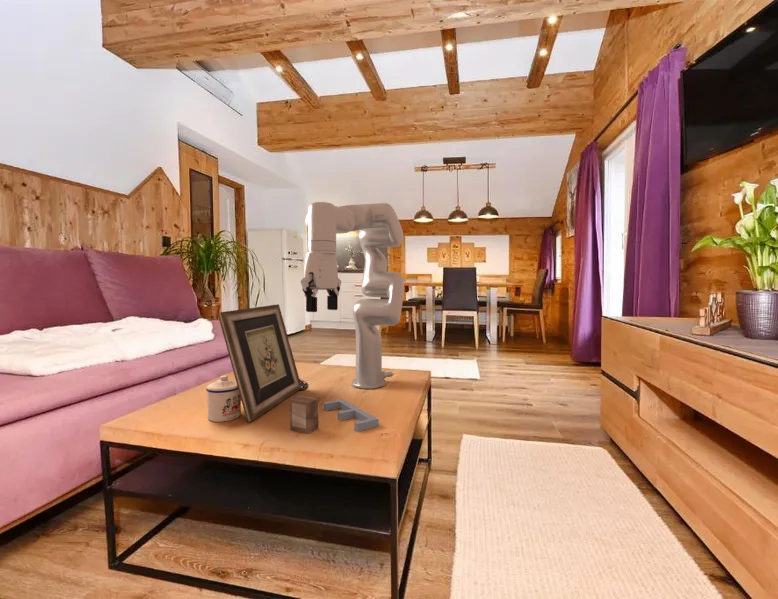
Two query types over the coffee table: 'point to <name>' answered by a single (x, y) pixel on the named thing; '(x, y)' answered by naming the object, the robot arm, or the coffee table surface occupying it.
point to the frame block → (304, 414)
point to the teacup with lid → (223, 400)
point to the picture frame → (260, 357)
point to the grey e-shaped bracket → (352, 414)
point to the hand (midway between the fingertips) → (322, 310)
